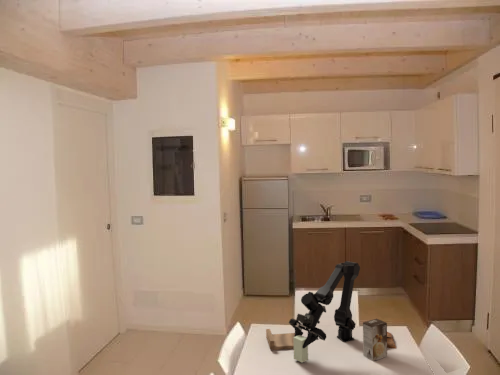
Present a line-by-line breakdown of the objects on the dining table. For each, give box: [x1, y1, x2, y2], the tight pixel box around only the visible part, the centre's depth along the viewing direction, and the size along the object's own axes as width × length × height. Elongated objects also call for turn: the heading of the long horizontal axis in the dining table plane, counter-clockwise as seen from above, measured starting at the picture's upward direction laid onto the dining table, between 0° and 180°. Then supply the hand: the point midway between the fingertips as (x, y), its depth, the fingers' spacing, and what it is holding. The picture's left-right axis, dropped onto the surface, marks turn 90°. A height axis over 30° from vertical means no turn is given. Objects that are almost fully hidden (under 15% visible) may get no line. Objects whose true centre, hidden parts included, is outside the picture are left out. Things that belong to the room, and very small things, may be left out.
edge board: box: [265, 328, 295, 351], centre depth 196 cm, size 16×14×4 cm
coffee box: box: [362, 318, 388, 362], centre depth 179 cm, size 9×6×16 cm
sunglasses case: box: [387, 331, 397, 350], centre depth 196 cm, size 18×7×7 cm, turn 169°
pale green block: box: [293, 335, 309, 363], centre depth 176 cm, size 4×5×10 cm
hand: (298, 345), depth 175 cm, fingers closed on pale green block, 5 cm apart
